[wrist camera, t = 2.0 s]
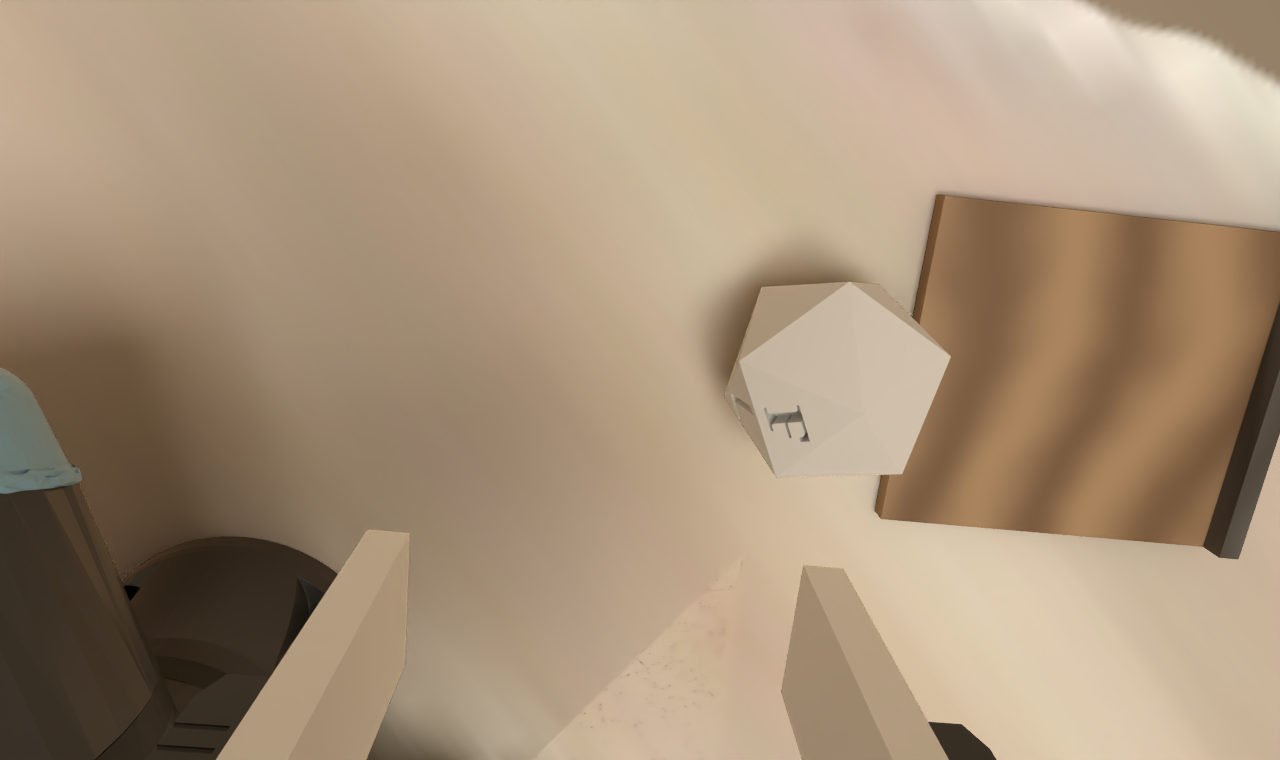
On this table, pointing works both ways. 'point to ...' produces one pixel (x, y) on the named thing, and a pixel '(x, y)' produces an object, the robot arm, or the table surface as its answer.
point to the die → (834, 380)
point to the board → (1095, 376)
